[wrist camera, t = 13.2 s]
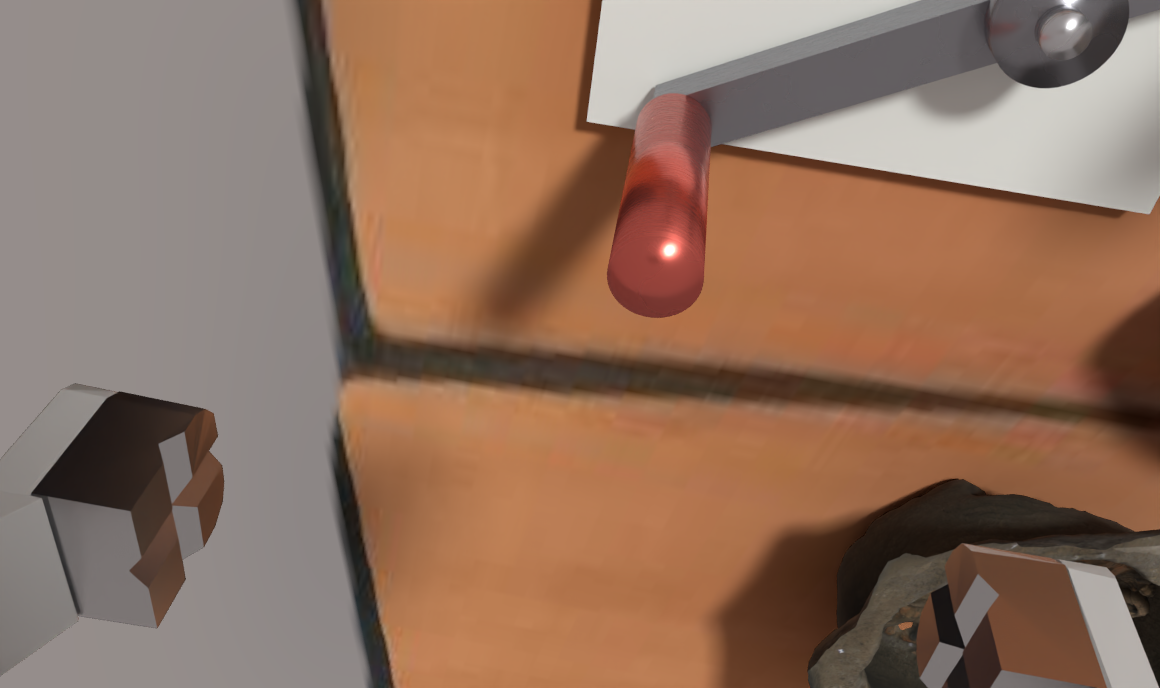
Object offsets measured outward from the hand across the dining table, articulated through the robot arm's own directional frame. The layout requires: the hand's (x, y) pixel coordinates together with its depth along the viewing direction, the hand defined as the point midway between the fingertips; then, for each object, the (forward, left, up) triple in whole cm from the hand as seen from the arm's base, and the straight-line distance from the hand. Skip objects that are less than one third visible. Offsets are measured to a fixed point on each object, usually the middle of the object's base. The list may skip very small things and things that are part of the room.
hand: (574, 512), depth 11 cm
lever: (+10, +3, -32) cm, 33 cm away
